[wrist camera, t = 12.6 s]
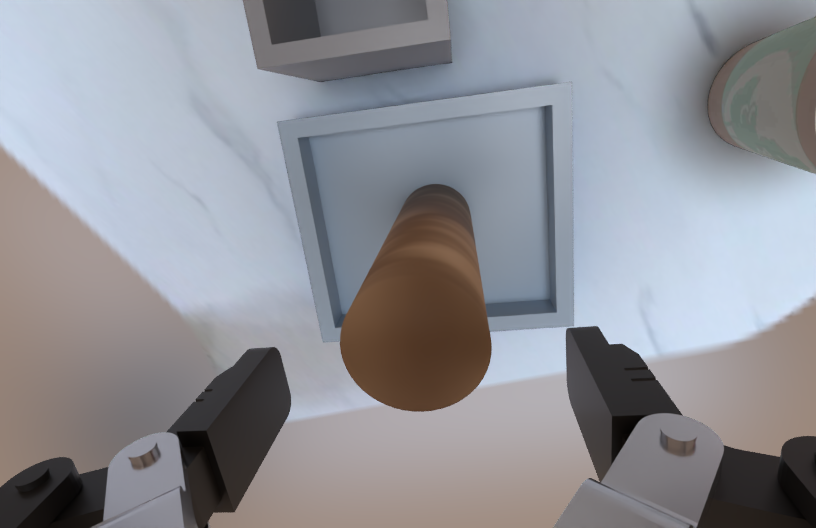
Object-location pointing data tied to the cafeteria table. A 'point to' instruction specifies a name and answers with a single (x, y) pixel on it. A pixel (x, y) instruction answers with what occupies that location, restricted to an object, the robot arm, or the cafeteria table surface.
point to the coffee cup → (770, 97)
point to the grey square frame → (347, 36)
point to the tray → (452, 166)
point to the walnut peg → (421, 309)
